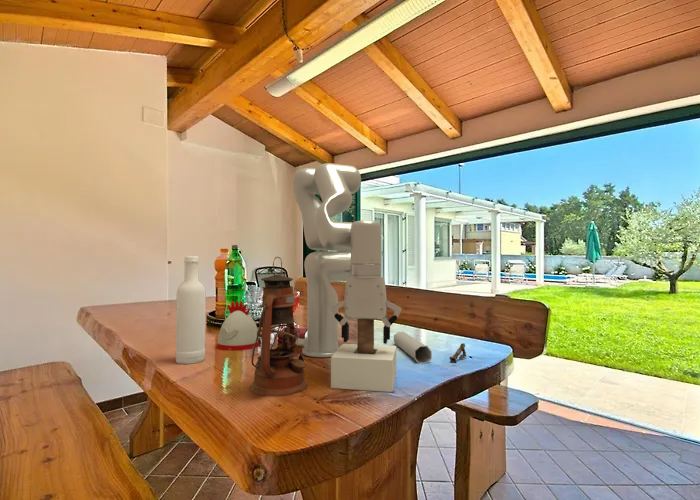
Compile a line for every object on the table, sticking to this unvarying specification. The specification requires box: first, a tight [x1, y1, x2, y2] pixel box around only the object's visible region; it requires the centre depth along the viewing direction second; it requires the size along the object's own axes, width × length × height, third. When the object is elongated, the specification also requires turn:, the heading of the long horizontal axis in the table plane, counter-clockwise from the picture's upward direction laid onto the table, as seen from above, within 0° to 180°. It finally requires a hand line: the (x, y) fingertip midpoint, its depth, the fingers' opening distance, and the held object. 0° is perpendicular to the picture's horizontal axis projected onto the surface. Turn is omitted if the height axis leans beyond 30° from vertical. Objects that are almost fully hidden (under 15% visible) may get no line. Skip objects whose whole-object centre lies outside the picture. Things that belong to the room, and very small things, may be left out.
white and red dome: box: [216, 300, 260, 352], centre depth 130 cm, size 14×14×15 cm
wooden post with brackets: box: [449, 342, 467, 364], centre depth 113 cm, size 2×8×4 cm, turn 138°
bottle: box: [175, 255, 206, 365], centre depth 111 cm, size 8×8×30 cm
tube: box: [393, 331, 432, 364], centre depth 122 cm, size 5×5×25 cm
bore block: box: [330, 343, 397, 393], centre depth 94 cm, size 14×14×7 cm
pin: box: [356, 319, 375, 354], centre depth 94 cm, size 4×4×12 cm
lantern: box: [250, 256, 308, 397], centre depth 90 cm, size 17×13×30 cm
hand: (365, 341), depth 94 cm, fingers open, 9 cm apart
